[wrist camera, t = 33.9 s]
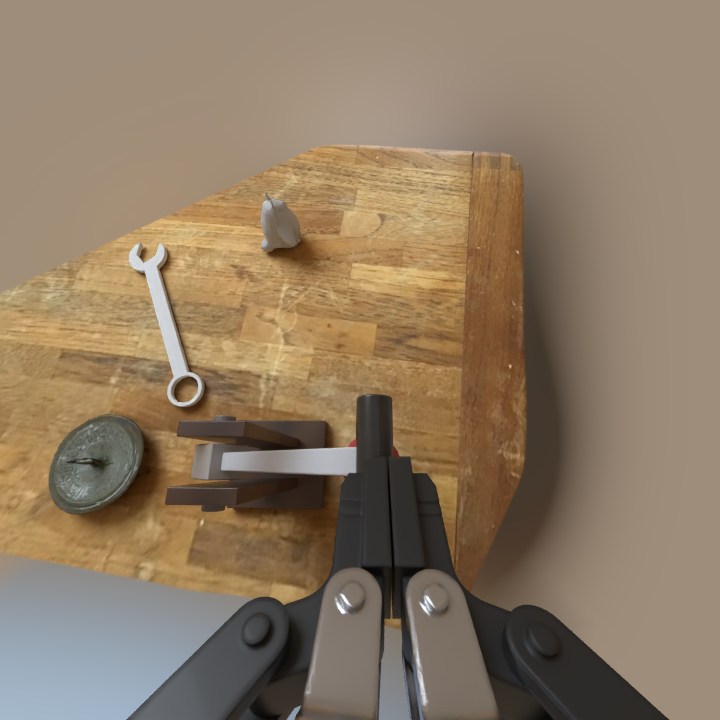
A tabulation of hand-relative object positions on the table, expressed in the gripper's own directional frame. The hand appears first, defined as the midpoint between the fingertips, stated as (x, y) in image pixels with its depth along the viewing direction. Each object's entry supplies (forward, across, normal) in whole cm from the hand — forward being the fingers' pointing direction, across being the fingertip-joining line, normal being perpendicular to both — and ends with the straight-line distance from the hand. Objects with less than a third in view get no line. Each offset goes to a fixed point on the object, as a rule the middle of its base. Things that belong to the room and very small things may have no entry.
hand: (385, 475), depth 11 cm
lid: (+19, +31, +18) cm, 40 cm away
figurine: (+39, +13, -2) cm, 41 cm away
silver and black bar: (+5, +5, +5) cm, 9 cm away
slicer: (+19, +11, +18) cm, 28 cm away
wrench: (+31, +27, +5) cm, 42 cm away
